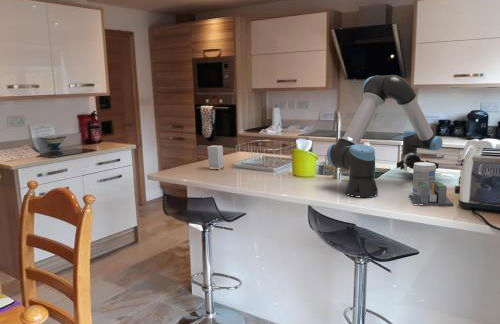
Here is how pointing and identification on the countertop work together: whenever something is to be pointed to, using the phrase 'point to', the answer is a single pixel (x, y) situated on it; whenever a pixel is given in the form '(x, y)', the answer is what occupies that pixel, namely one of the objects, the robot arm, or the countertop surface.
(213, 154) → the skincare box
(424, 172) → the supplement tub
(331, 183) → the countertop surface
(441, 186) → the grey notched block
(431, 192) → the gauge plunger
